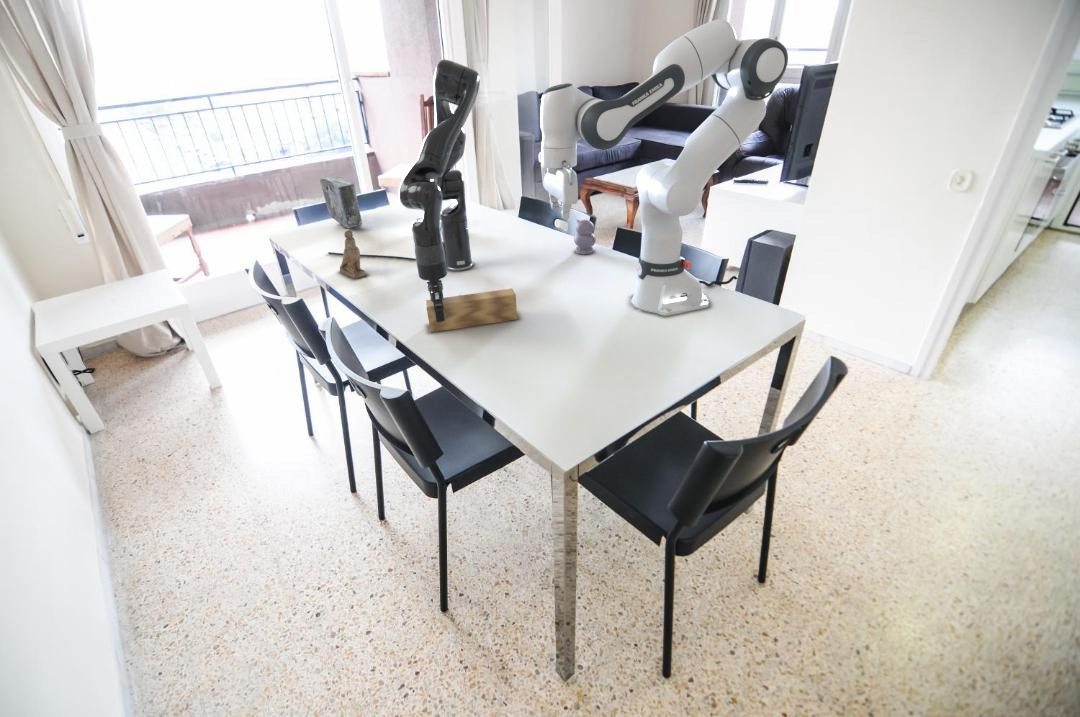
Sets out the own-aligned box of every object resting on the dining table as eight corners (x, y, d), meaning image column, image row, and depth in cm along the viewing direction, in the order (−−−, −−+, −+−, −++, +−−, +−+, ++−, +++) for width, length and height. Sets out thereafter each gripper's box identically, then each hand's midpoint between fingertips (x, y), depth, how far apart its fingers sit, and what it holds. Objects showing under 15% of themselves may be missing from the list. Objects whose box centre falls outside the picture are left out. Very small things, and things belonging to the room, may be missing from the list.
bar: (430, 332, 138) (426, 306, 134) (429, 325, 142) (425, 300, 138) (517, 319, 143) (515, 294, 139) (514, 312, 147) (512, 288, 143)
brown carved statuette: (368, 281, 178) (362, 235, 166) (353, 285, 175) (347, 238, 163) (352, 266, 184) (346, 221, 172) (338, 270, 181) (331, 224, 169)
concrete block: (367, 229, 224) (357, 183, 213) (347, 233, 220) (336, 187, 209) (348, 217, 243) (338, 174, 232) (330, 221, 238) (318, 177, 228)
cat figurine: (599, 250, 190) (600, 219, 183) (587, 256, 185) (587, 224, 178) (582, 246, 195) (582, 215, 188) (569, 251, 190) (569, 220, 184)
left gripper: (447, 266, 125) (456, 326, 134) (442, 248, 137) (450, 305, 146) (417, 270, 124) (428, 330, 132) (414, 252, 135) (424, 308, 144)
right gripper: (584, 164, 116) (584, 223, 123) (559, 151, 133) (560, 203, 140) (559, 166, 115) (559, 225, 122) (536, 153, 132) (538, 205, 139)
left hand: (439, 316), depth 139 cm, fingers closed on bar, 4 cm apart
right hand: (559, 213), depth 131 cm, fingers open, 8 cm apart
